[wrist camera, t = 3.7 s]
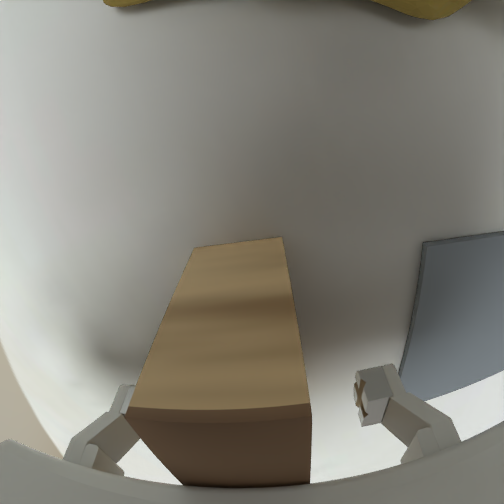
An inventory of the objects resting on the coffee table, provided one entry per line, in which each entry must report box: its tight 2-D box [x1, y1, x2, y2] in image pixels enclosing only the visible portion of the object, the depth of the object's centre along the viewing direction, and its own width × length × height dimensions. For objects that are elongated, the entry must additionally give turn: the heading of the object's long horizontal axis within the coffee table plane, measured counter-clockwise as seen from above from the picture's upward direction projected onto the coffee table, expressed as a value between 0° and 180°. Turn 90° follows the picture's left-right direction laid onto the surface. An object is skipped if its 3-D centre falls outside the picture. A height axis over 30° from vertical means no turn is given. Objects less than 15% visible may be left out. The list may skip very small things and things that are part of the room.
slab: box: [124, 237, 312, 488], centre depth 10 cm, size 10×4×8 cm, turn 8°
